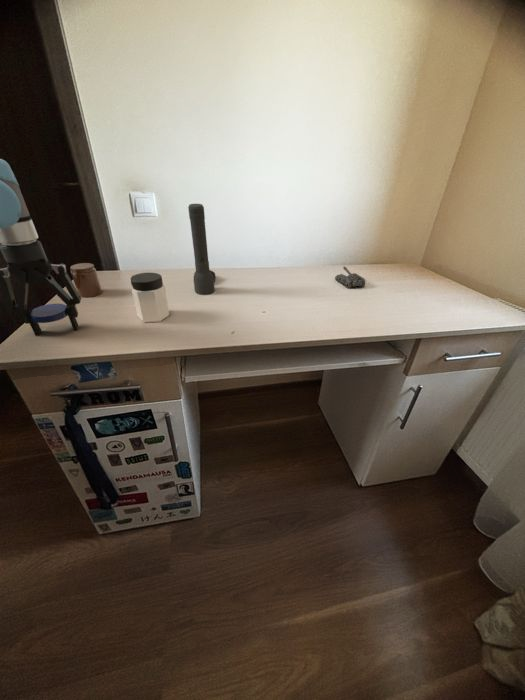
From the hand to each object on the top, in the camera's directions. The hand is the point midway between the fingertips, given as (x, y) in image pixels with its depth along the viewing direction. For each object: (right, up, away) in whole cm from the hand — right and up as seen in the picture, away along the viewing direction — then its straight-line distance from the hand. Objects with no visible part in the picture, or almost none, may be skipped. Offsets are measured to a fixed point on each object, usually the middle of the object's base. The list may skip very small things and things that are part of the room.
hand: (57, 330), depth 75 cm
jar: (+22, +5, +9) cm, 24 cm away
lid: (0, +5, -3) cm, 6 cm away
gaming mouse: (+33, +21, +35) cm, 53 cm away
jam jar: (-4, +14, +22) cm, 26 cm away
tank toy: (+90, +22, +39) cm, 101 cm away
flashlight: (+34, +16, +27) cm, 46 cm away
